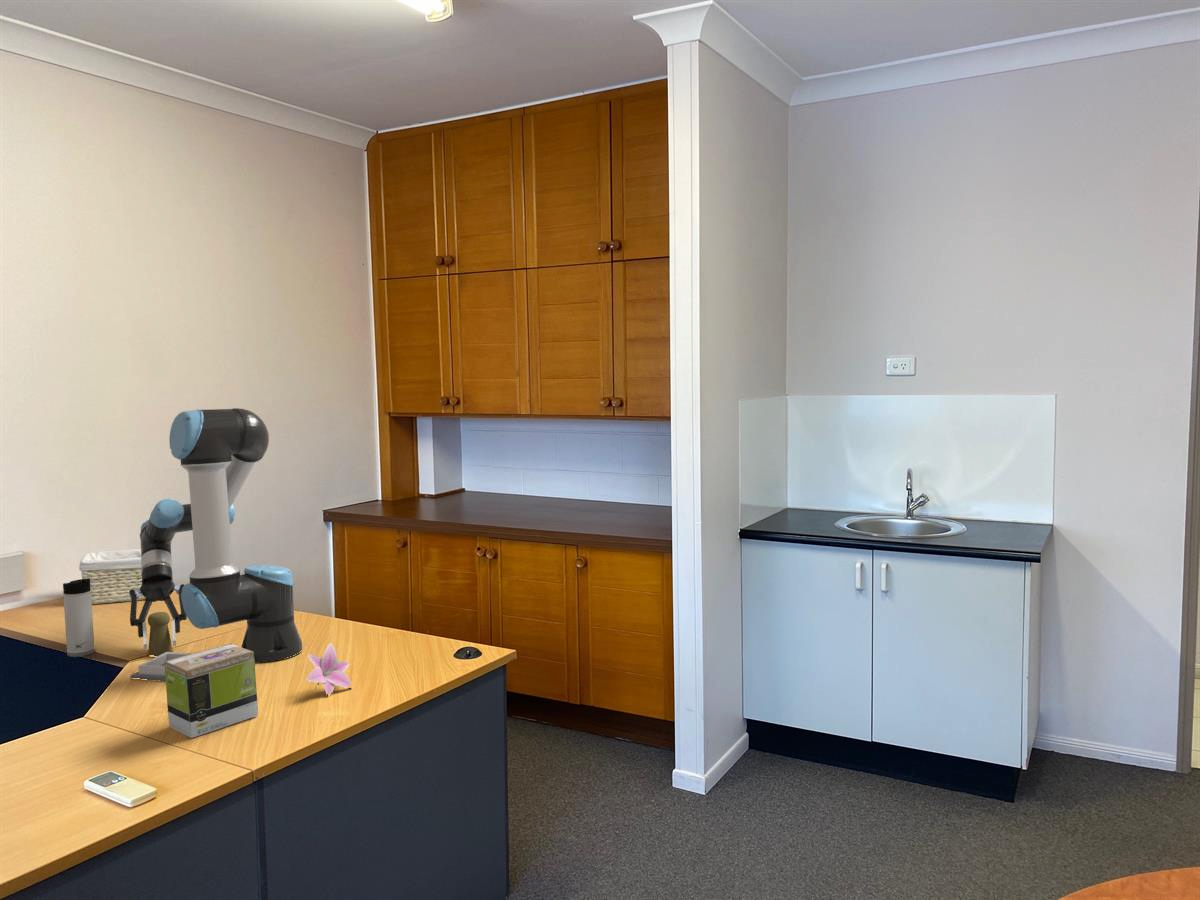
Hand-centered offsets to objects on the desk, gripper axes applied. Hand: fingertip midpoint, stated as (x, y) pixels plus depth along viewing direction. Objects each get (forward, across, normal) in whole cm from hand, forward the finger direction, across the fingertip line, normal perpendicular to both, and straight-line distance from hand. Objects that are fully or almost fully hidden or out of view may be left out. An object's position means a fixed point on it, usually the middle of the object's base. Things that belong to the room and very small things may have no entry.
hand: (159, 645), depth 230 cm
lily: (+34, -35, +29) cm, 57 cm away
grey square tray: (+12, -3, +7) cm, 14 cm away
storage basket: (-49, +10, -54) cm, 74 cm away
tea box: (+39, -10, +34) cm, 53 cm away
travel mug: (-7, +19, -12) cm, 23 cm away
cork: (0, 0, -5) cm, 5 cm away
